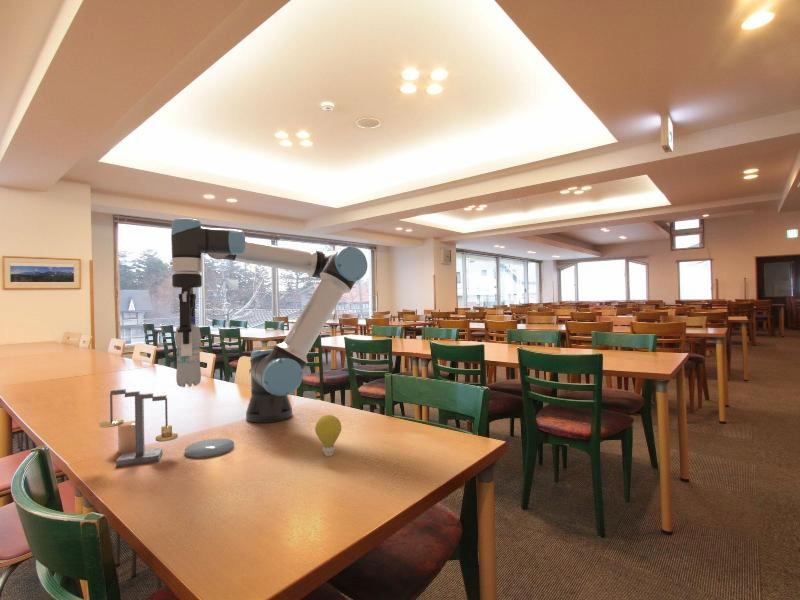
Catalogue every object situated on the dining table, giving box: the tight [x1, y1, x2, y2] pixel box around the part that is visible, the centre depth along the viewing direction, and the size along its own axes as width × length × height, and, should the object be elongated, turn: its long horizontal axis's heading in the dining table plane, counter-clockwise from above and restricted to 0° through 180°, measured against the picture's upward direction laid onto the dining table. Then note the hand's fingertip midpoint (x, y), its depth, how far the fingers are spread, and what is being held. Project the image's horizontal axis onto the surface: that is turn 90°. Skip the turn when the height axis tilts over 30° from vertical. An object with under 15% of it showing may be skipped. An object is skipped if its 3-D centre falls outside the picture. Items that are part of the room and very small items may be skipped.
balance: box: [98, 388, 179, 468], centre depth 106 cm, size 17×6×18 cm, turn 111°
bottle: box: [174, 316, 202, 388], centre depth 120 cm, size 7×7×20 cm
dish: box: [184, 438, 235, 459], centre depth 113 cm, size 12×12×1 cm
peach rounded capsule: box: [117, 420, 136, 454], centre depth 114 cm, size 6×6×7 cm
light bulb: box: [314, 414, 342, 457], centre depth 108 cm, size 7×7×10 cm
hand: (188, 354), depth 120 cm, fingers closed on bottle, 7 cm apart
